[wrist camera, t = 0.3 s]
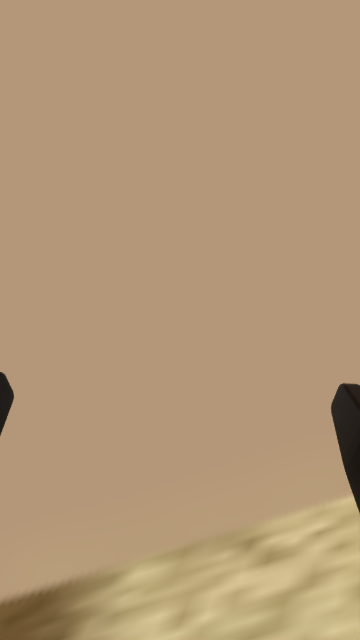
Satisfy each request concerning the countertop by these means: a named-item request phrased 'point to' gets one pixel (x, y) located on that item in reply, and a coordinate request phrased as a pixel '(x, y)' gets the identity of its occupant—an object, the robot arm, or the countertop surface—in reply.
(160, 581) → the countertop surface
